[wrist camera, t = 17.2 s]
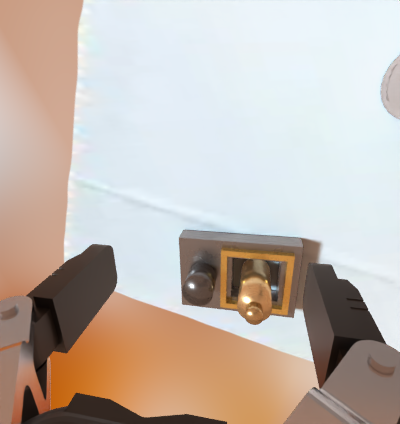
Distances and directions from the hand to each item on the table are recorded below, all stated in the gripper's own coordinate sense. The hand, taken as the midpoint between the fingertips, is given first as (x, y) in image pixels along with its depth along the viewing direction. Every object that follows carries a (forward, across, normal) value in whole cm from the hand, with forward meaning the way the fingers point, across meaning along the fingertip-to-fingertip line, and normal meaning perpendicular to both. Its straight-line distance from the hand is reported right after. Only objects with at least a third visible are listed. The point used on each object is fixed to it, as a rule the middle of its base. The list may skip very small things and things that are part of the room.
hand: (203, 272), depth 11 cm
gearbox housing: (+34, 0, +22) cm, 41 cm away
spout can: (+34, -3, +22) cm, 41 cm away
